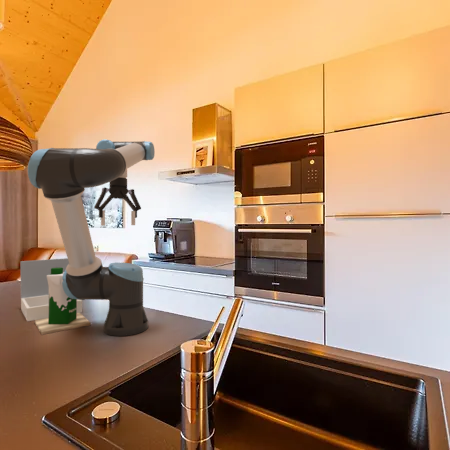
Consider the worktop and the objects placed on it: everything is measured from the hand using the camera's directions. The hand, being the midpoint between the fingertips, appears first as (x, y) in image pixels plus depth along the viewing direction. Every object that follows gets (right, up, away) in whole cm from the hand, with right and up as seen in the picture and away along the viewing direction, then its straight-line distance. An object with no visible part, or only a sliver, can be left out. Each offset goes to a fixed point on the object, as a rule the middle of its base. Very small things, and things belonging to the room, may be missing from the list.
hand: (118, 225), depth 143 cm
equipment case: (-29, -37, -3) cm, 47 cm away
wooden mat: (-13, -37, -23) cm, 46 cm away
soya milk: (-13, -36, -23) cm, 45 cm away
